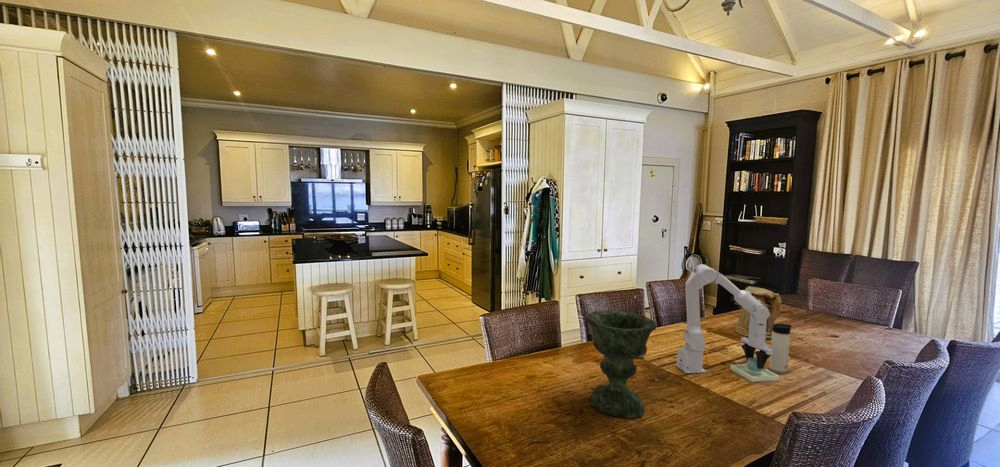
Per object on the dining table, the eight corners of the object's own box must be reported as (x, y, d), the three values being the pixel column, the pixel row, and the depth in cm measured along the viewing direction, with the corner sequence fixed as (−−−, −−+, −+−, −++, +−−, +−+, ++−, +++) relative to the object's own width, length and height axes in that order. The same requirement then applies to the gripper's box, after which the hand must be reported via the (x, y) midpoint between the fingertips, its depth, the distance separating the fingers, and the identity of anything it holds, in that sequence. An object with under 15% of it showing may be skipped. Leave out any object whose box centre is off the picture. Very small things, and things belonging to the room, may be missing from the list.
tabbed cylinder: (754, 372, 162) (754, 362, 162) (744, 367, 167) (744, 357, 167) (769, 371, 163) (769, 361, 163) (758, 366, 168) (759, 356, 168)
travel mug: (791, 374, 166) (794, 327, 165) (773, 372, 168) (776, 325, 166) (783, 368, 173) (787, 322, 171) (766, 366, 174) (770, 321, 172)
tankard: (752, 327, 229) (756, 284, 227) (793, 342, 207) (797, 293, 205) (727, 330, 224) (730, 285, 222) (765, 344, 202) (769, 295, 200)
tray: (751, 382, 158) (752, 377, 158) (730, 369, 170) (730, 365, 170) (779, 381, 160) (779, 376, 160) (755, 368, 172) (756, 363, 172)
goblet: (604, 426, 125) (608, 331, 123) (572, 392, 147) (575, 311, 144) (665, 417, 131) (670, 327, 128) (626, 386, 153) (629, 308, 150)
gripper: (780, 338, 157) (778, 372, 158) (752, 327, 171) (750, 358, 173) (764, 339, 156) (762, 373, 157) (737, 327, 170) (735, 358, 172)
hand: (754, 365), depth 165 cm, fingers closed on tabbed cylinder, 5 cm apart
